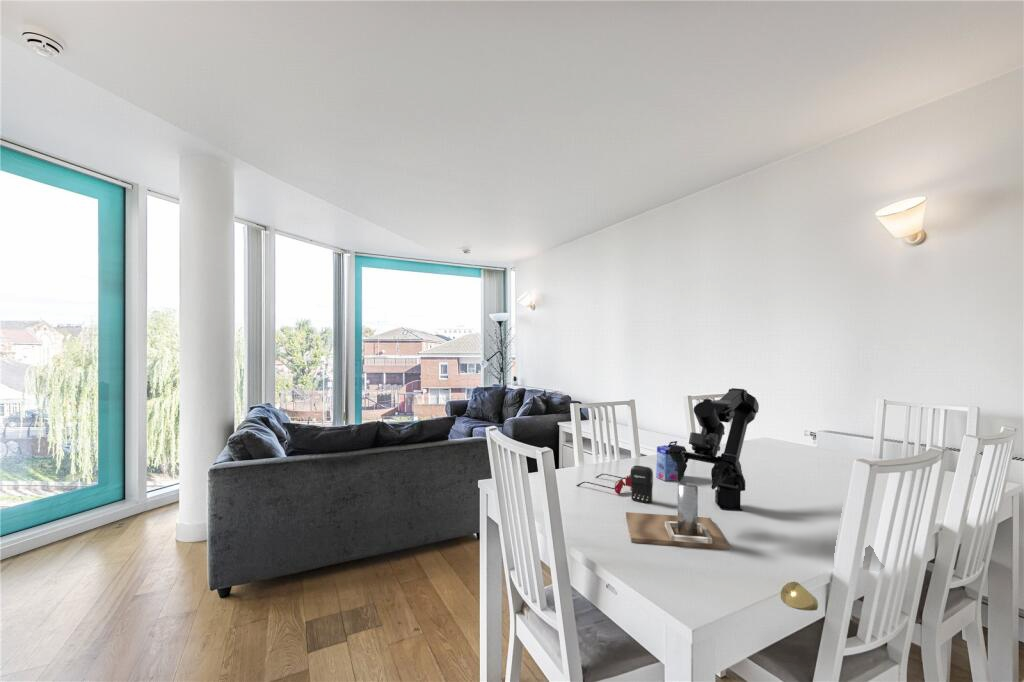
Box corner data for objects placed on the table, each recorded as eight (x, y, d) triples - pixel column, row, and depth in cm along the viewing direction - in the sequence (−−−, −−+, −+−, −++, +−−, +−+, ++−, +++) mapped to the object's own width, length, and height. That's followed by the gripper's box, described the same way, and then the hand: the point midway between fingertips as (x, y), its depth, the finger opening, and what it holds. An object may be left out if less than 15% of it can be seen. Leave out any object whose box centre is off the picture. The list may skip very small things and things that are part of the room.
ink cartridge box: (665, 481, 171) (666, 443, 171) (655, 477, 176) (655, 440, 176) (685, 478, 175) (685, 440, 175) (674, 474, 180) (675, 438, 180)
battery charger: (628, 500, 151) (629, 466, 151) (632, 497, 154) (632, 463, 154) (649, 505, 147) (650, 469, 147) (653, 501, 150) (653, 466, 150)
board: (710, 521, 134) (710, 513, 134) (728, 549, 116) (728, 540, 116) (625, 516, 138) (625, 508, 138) (631, 542, 120) (631, 533, 120)
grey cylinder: (690, 529, 126) (690, 481, 126) (701, 536, 121) (701, 487, 121) (673, 530, 125) (674, 482, 125) (684, 538, 120) (684, 488, 120)
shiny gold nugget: (806, 601, 89) (820, 613, 89) (800, 578, 93) (814, 590, 93) (782, 608, 92) (797, 620, 92) (778, 586, 96) (792, 597, 96)
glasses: (617, 497, 155) (617, 482, 155) (575, 486, 166) (576, 473, 166) (635, 487, 166) (635, 473, 166) (595, 478, 177) (595, 465, 177)
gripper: (671, 417, 136) (653, 461, 128) (738, 425, 123) (723, 475, 115) (682, 439, 142) (666, 483, 134) (747, 449, 129) (733, 498, 121)
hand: (695, 484), depth 126 cm, fingers open, 9 cm apart
